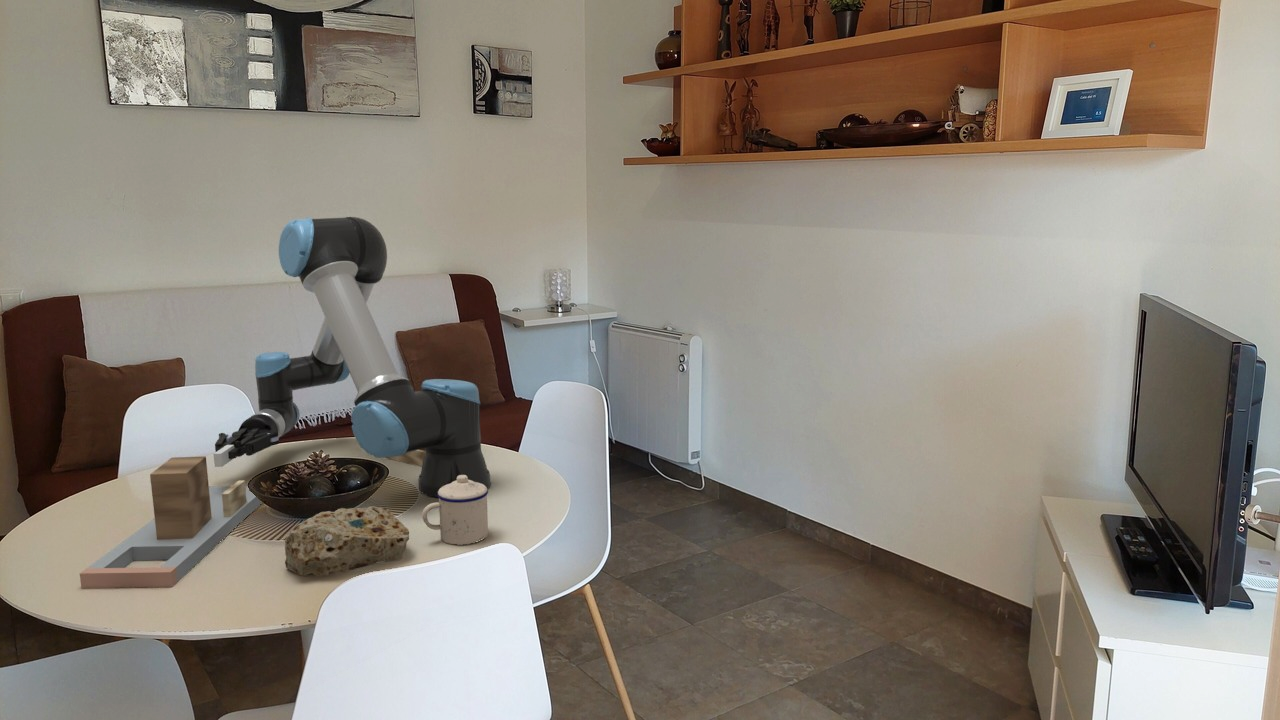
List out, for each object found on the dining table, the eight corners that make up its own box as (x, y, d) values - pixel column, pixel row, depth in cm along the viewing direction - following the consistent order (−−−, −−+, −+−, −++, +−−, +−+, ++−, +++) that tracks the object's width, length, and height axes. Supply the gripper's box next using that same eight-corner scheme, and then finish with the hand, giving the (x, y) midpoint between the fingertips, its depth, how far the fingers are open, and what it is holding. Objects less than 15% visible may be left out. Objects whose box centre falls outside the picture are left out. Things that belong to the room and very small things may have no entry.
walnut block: (177, 519, 172) (171, 457, 169) (211, 518, 172) (205, 456, 170) (157, 539, 162) (149, 474, 160) (192, 538, 163) (186, 473, 160)
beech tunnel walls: (177, 503, 180) (175, 481, 180) (246, 502, 181) (244, 480, 180) (157, 517, 173) (155, 494, 172) (230, 516, 173) (228, 494, 172)
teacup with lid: (481, 524, 176) (479, 465, 174) (495, 540, 168) (493, 479, 166) (418, 535, 170) (415, 474, 168) (430, 552, 162) (427, 489, 160)
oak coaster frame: (473, 451, 224) (472, 437, 223) (425, 467, 211) (425, 452, 210) (433, 442, 231) (432, 429, 230) (384, 458, 218) (384, 443, 218)
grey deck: (198, 498, 191) (197, 486, 190) (268, 497, 191) (267, 485, 191) (81, 588, 149) (79, 573, 148) (172, 586, 149) (170, 572, 148)
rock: (387, 538, 172) (394, 491, 169) (415, 582, 161) (424, 532, 158) (272, 552, 160) (278, 501, 156) (294, 600, 149) (301, 547, 146)
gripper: (292, 445, 208) (252, 477, 184) (233, 446, 207) (186, 479, 184) (289, 413, 206) (249, 441, 183) (230, 414, 206) (182, 442, 183)
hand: (217, 460), depth 184 cm, fingers closed
